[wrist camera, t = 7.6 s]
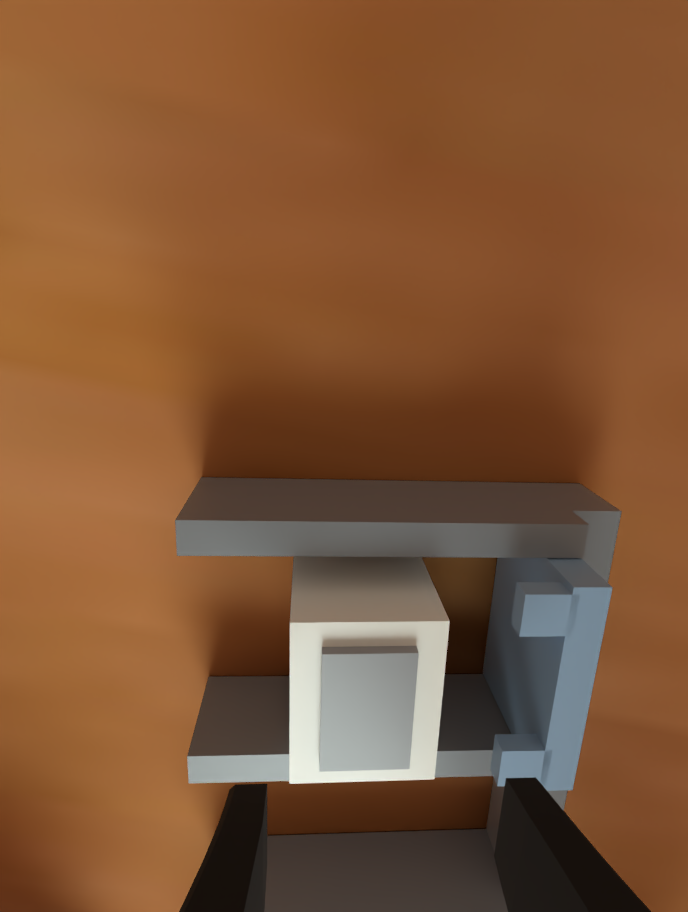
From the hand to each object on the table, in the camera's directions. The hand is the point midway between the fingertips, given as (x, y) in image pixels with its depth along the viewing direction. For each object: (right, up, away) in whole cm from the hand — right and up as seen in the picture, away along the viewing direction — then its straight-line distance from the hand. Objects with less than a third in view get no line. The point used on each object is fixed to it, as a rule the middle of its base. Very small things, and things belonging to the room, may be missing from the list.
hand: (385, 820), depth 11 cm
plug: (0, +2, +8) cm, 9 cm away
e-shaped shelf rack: (0, -5, +10) cm, 11 cm away
